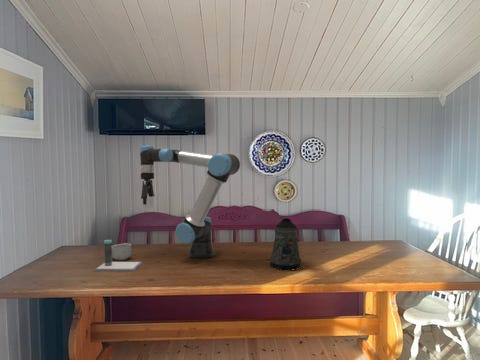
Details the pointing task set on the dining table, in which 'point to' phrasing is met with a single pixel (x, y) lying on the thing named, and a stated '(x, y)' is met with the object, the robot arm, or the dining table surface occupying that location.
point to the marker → (108, 252)
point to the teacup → (121, 251)
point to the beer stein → (285, 247)
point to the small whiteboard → (119, 266)
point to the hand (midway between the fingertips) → (148, 208)
